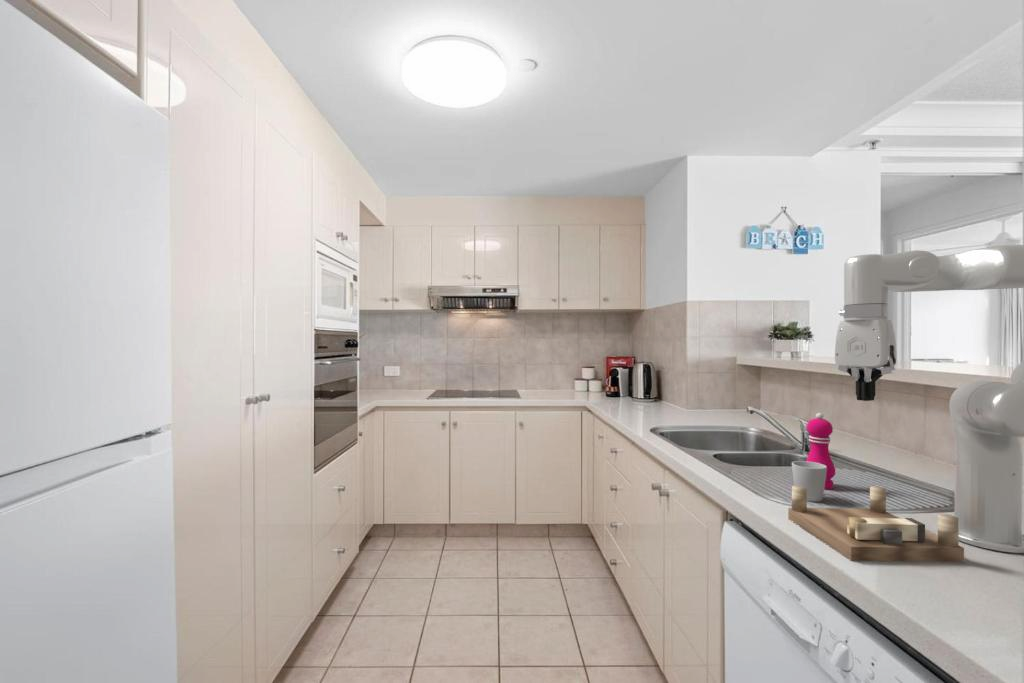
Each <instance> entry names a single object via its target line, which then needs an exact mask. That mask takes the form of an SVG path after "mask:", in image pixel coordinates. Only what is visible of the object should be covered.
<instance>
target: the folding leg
mask: <svg viewBox="0 0 1024 683" xmlns="http://www.w3.org/2000/svg"><path fill="white" fill-rule="evenodd" d="M881 529H898V530H900V531H902V541H917V542H925V530H926V524H924V523H922V522H921V521H919V520H916V519H914V518H911V517H904V518H901V519H896V518H859V517H847V533H848V534H849V535H850V536H851V537H854V538H856V539H859V540H881Z"/></svg>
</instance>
